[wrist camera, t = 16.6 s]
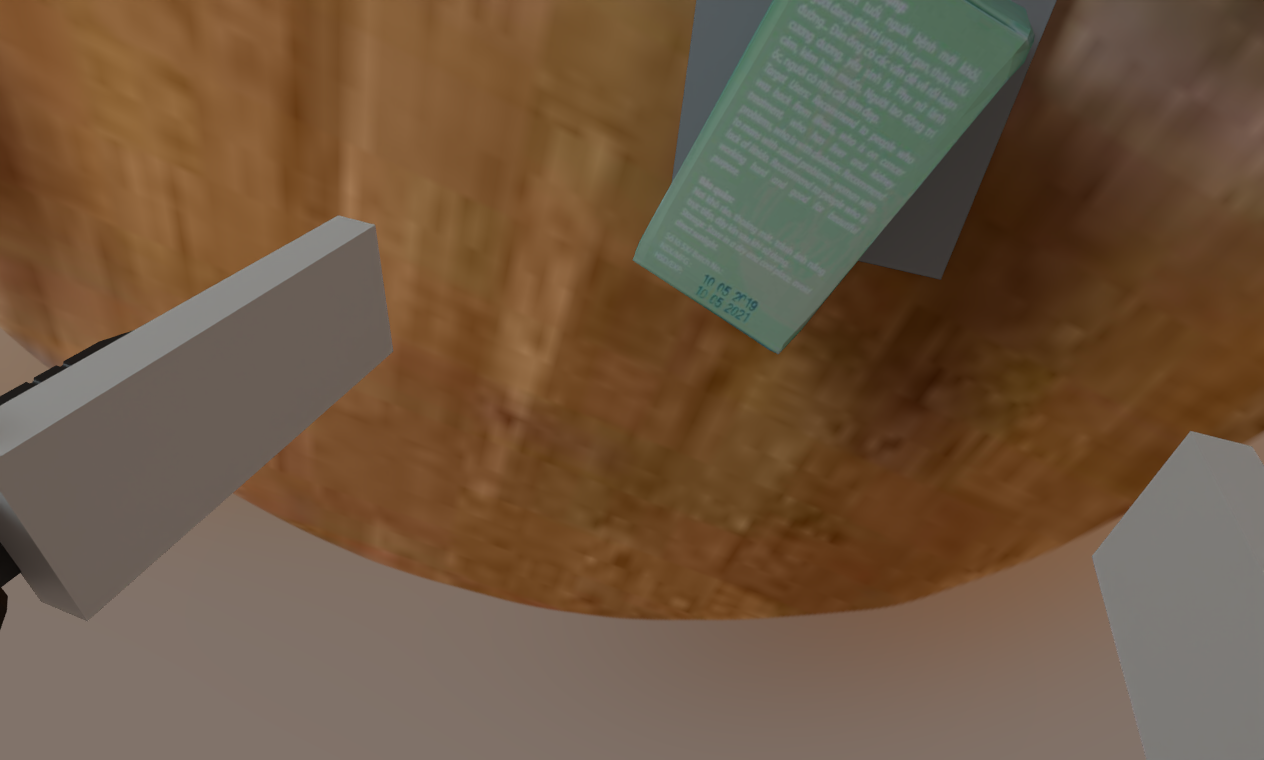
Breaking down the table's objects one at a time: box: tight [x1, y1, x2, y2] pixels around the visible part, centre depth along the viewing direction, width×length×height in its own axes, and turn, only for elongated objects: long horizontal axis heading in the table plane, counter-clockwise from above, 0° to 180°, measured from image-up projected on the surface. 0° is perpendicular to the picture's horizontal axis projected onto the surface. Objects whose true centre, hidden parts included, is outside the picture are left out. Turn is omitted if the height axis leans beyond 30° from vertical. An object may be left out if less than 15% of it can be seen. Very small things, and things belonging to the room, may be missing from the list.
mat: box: [672, 0, 1057, 280], centre depth 29 cm, size 13×13×1 cm
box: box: [633, 0, 1035, 354], centre depth 26 cm, size 7×14×8 cm, turn 154°
